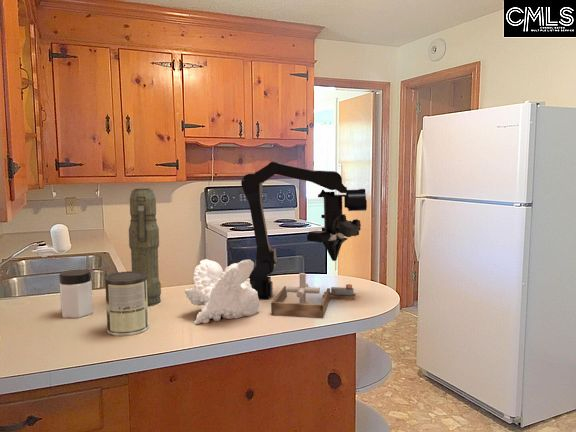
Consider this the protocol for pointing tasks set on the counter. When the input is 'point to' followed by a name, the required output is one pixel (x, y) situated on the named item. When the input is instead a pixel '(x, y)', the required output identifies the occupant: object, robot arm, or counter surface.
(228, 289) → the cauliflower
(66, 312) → the jar
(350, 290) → the pin
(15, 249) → the counter surface
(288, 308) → the dock cradle
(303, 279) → the pipe connector
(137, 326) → the coffee can
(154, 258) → the thermos
